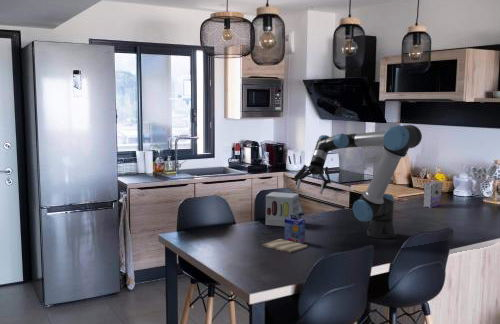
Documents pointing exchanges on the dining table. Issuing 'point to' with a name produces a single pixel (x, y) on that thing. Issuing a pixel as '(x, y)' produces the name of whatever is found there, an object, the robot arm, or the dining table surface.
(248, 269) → the dining table surface
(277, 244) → the board
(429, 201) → the candy box
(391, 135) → the robot arm
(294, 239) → the ink cartridge box
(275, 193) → the supplement box
